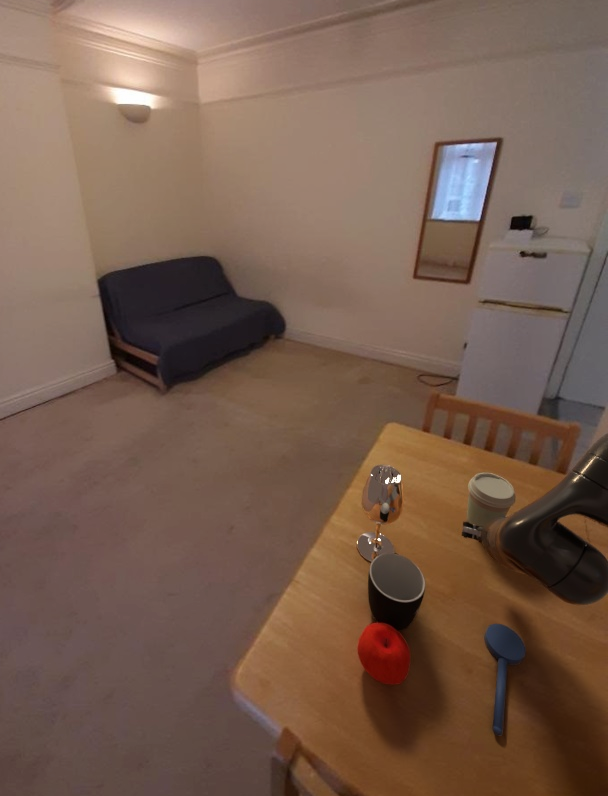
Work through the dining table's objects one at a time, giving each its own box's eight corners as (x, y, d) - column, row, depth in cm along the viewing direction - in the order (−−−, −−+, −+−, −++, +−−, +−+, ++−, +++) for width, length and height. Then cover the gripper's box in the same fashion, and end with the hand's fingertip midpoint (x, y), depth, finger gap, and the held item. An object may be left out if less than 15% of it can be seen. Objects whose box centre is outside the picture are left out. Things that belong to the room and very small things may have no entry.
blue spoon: (486, 622, 70) (487, 617, 70) (524, 640, 67) (526, 635, 67) (473, 723, 58) (475, 718, 57) (519, 750, 55) (522, 745, 54)
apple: (414, 698, 61) (421, 671, 58) (360, 694, 61) (364, 667, 58) (400, 641, 68) (405, 614, 65) (352, 638, 69) (355, 611, 65)
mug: (417, 648, 67) (426, 610, 63) (361, 630, 70) (367, 592, 65) (416, 582, 77) (424, 546, 73) (367, 569, 80) (372, 533, 76)
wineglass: (398, 567, 80) (412, 491, 71) (357, 562, 81) (366, 487, 73) (391, 534, 87) (403, 461, 78) (354, 530, 88) (362, 458, 80)
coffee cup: (503, 520, 89) (517, 478, 84) (503, 549, 83) (517, 506, 77) (461, 505, 93) (471, 465, 88) (457, 533, 87) (468, 491, 81)
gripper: (570, 532, 59) (535, 528, 75) (469, 505, 65) (456, 506, 80) (566, 587, 57) (531, 571, 73) (463, 554, 63) (450, 546, 78)
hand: (491, 537), depth 76 cm, fingers closed
